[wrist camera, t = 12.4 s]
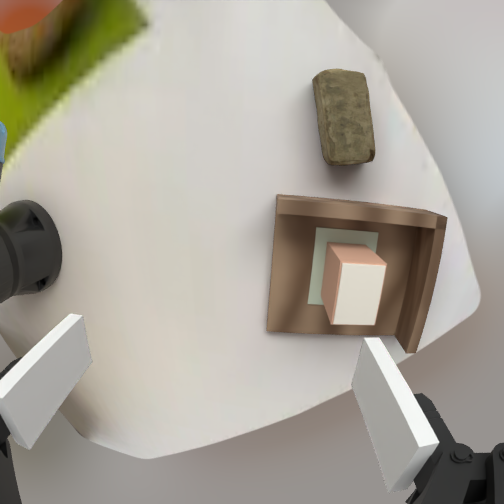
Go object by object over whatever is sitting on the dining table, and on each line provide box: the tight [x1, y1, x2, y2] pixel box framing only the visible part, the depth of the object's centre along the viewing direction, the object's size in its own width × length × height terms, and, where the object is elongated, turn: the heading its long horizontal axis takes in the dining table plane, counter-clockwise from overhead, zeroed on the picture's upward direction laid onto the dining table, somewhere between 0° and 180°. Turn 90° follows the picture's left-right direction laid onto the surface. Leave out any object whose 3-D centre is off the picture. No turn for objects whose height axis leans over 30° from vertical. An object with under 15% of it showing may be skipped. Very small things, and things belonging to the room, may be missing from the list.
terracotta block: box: [321, 242, 387, 325], centre depth 35 cm, size 7×5×8 cm
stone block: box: [312, 69, 375, 165], centre depth 33 cm, size 6×12×5 cm, turn 7°
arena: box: [267, 194, 447, 353], centre depth 37 cm, size 20×18×6 cm
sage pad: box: [308, 227, 378, 305], centre depth 39 cm, size 8×10×1 cm
